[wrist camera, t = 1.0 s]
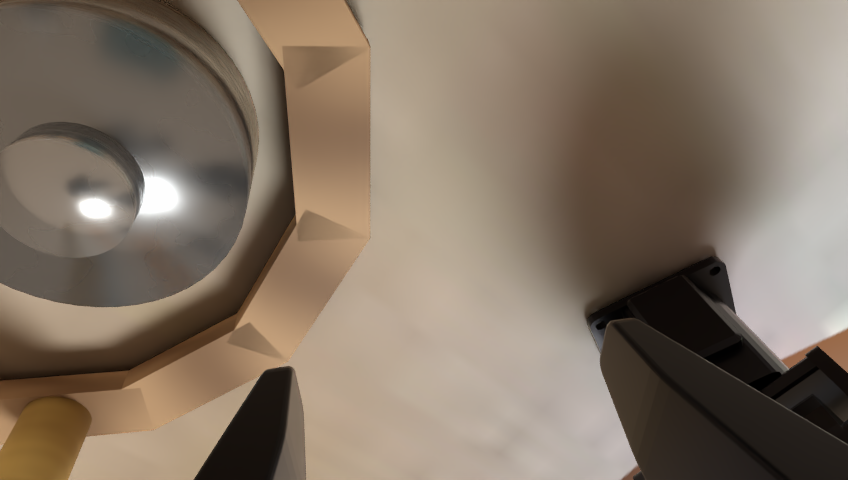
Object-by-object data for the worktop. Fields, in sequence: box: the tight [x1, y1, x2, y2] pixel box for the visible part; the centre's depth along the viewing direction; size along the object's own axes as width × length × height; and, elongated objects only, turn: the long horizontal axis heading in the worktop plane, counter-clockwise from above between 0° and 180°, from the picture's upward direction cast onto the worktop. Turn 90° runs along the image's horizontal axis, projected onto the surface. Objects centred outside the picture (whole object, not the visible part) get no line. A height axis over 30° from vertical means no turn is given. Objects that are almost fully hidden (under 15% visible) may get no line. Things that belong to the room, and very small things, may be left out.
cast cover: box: [0, 0, 259, 307], centre depth 15 cm, size 8×8×5 cm
